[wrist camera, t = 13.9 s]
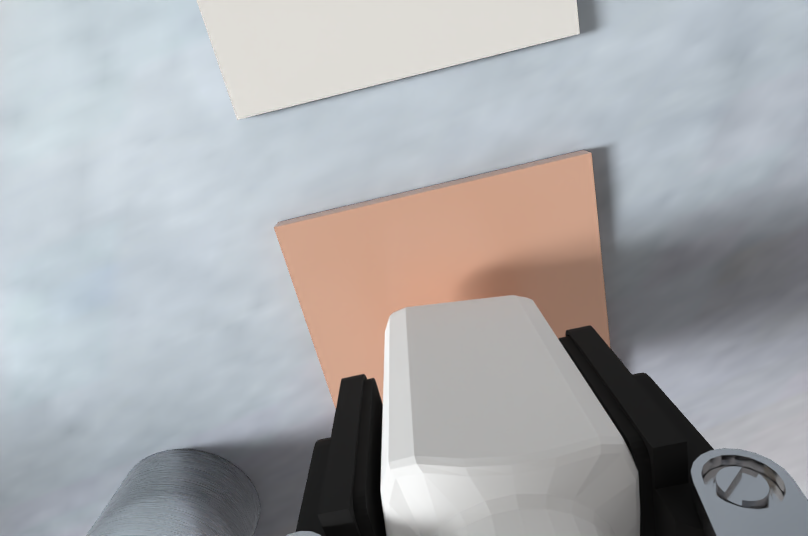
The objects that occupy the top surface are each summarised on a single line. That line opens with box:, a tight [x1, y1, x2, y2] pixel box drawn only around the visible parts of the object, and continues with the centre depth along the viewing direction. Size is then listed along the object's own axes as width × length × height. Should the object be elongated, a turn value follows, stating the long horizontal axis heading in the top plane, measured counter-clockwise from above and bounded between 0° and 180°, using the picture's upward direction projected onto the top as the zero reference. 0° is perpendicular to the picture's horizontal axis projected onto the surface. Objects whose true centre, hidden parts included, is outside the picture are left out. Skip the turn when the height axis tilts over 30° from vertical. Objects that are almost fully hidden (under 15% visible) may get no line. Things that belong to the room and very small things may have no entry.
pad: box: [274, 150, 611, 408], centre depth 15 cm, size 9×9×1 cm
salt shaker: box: [380, 295, 640, 536], centre depth 9 cm, size 4×4×10 cm
